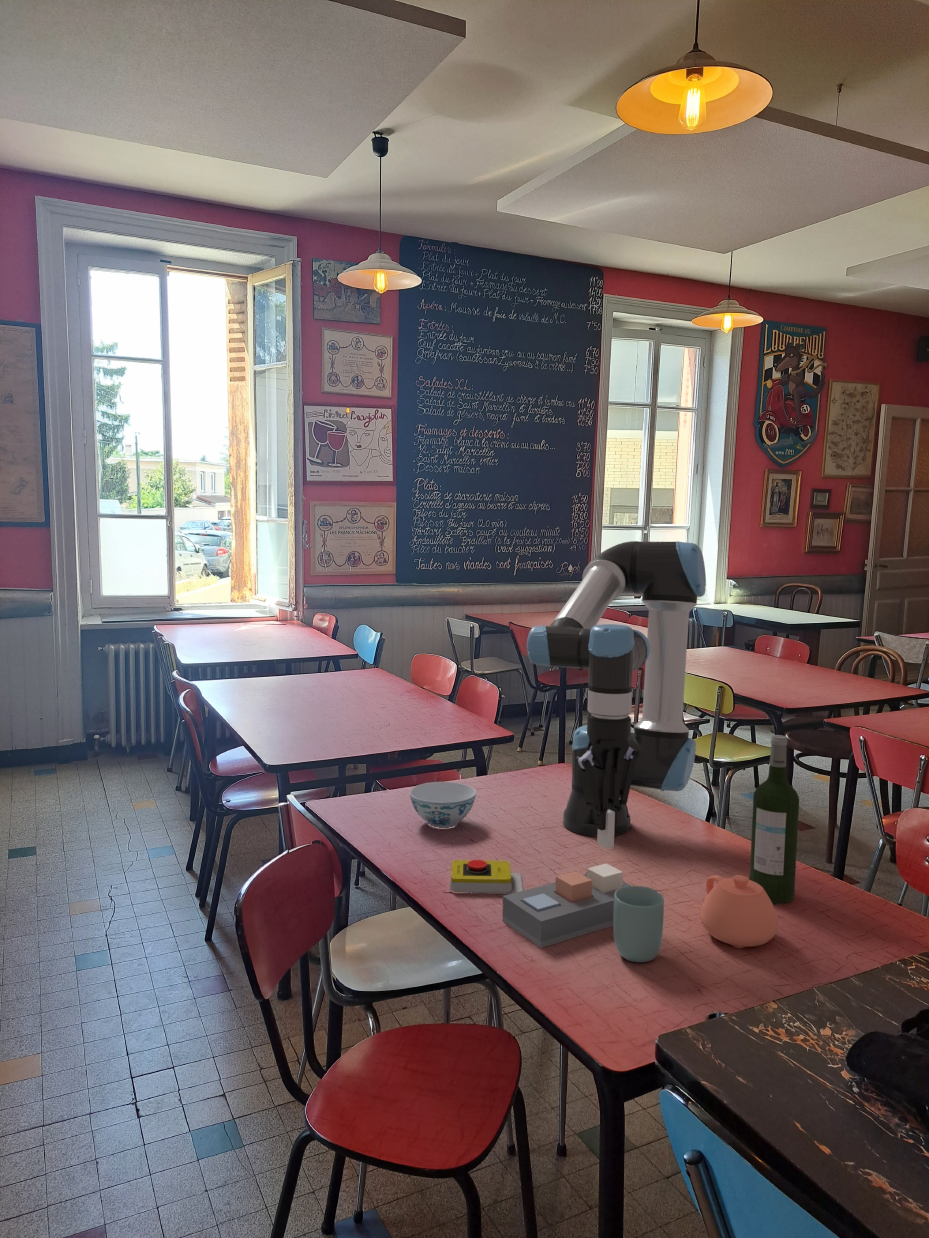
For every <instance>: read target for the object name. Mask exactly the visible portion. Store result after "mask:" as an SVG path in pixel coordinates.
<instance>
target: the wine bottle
mask: <svg viewBox="0 0 929 1238" xmlns="http://www.w3.org/2000/svg"><path fill="white" fill-rule="evenodd" d="M770 745H771V746H770V755H769V767H768V768H769V769H768V777H767V779H766V780H764V781H763V782H762V783H760V784H759V785H758V786H757V787H756V788H755V791H754V793H753V802H752V819H751V820H752V821H751V822H752V823H751V838H750V839H751V840H750V841H751V843H750V860H749V861H750V864H749V880H751V881H754V882H756V883H758V884H759V885H760V886H762V887H763V889H764V890H765V892H766V893H767V895H768V897H769V898H770V900H771V902H772V904H778V905H779V904H786V903H787V904H788V903H790V902H791V901H793V900H794V898H795V889H796V871H797V870H796V869H797V866H796V865H797V853H798V851H797V849H798V835H799V834H798V833H799V832H798V829H799V813H800V797H799V794H798V792H797V790H796V789H795V788H794V787H793V786H792V785H791V784H790V783H789V782H788V779H787V745H788V738H787V736H785V735H781V734H773V735H772V737H771V738H770Z"/></svg>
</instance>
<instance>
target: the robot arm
mask: <svg viewBox="0 0 929 1238" xmlns="http://www.w3.org/2000/svg"><path fill="white" fill-rule="evenodd" d="M704 560H705V559H704V555H703V551H702V550H701V546H699V545H698V544H697V543H695V542H694V543H693V542H687V541H686V542H684V541H678V540H677V541H639V540H637V541H636V540H631V541H625V542H622V543H618V544H615V545H614V546H611V547H609V548H607V549H605V550H603V551H602V552H600V553H598V555H596V556H594V557H593V558H592V559H591V560H590V562H588V563H587V565H586V567H585V568H584V570H583V573H582V577H581V580H582V581H581V582H580V583H579V585H578V586H576V589H575V590H574V591H573V593H572V595H571V596H569V598H568V599H567V602H566V603H565V605H563V607H562V609H560V611H559V613H558V614H557V616H556V617H555V618H554V620H553V621H552V622H551V623H550V625H546V624H543V625H535V626H533V627H532V628H531V629H530V630H529V632H528V635H527V640H526V652H527V657H528V659H529V661H530V663H532V664H533V665H537V666H538V665H539V666H545V667H546V666H547V667H548V668H550V667H556V668H557V667H558V668H569V669H570V668H571V669H582V670H588V685H587V687H588V688H587V712H588V713H589V714H588V715H587V717H586V718H587V719H586V722H587V723H586V724H585V725H581V726H580V727H578V728H577V729H575V730H574V732H573V734H572V735H573V738H572V746H571V750H572V751H571V752H572V753H571V754H572V756H571V757H572V758H571V791H570V794H569V797H568V801H567V804H566V807H565V809H564V811H563V813H562V814H563V815H562V816H563V817H562V824H563V826H564V827H565V828H566V829H567V830H569V831H571V832H573V833H576V834H579V835H584V836H590V837H591V836H593V837H597V839H596V844H597V845H598V846H600V847H602V848H604V849H606V850H611V849H614V847H615V836H618V835H623V834H625V833H627V832H629V831H630V828H631V815H630V813H629V808H628V805H627V803H628V800H629V795H630V790H631V787H639V788H647V789H648V788H649V789H653V790H654V789H655V790H661V792H665V791H666V792H667V791H669V792H681V791H682V790H684V789H685V788H686V786H688V783H689V781H690V777H691V775H692V772H693V767H694V764H695V763H694V762H695V757H696V751H697V749H696V748H697V742H696V740H695V739H693V738H691V737H689V736H690V735H689V734H690V733H689V732H690V728H688V727H687V726H686V724H685V723H684V722H683V715H684V714H683V713H684V700H685V699H684V697H685V696H684V695H685V683H686V682H685V681H686V668H687V667H686V665H687V653H688V652H687V649H688V635H689V633H688V632H689V618H690V617H689V616H690V612H691V611H692V610H693V609H694V608H695V607H697V605H698V598H700V597H703V596H705V594H706V586H707V578H706V577H707V576H706V567H705V566H706V565H705V561H704ZM622 594H638V595H639V594H640V595H642V601H641V602H642V603H643V604H644V606H645V607H646V609H648V621H647V634H646V635H647V636H646V635H645V634H644V633H643V632H641V631H640V630H637V629H633V628H632V627H630V626H628V625H623V624H614V623H613V624H611V623H610V624H607V623H606V624H605V623H604V624H598V623H599V621H600V619H602V616H603V615H604V614H605V611H606V610H607V609H608V607H609V605H610V603H611V602H612V601H613V600H616V599H617V598H618V597H620V596H621V595H622ZM644 665H645V669H644V684H643V700H642V701H643V703H642V714H641V715H642V717H641V719H640V720H639V721H638V722H636V724H635V725H634V732H632V731H631V729H632V718H631V717H630V715H631V713H632V710H633V709H632V704H633V702H632V699H633V673H634V671H637V670H638V669H640V668H642V667H643V666H644Z"/></svg>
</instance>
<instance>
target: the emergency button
mask: <svg viewBox="0 0 929 1238" xmlns="http://www.w3.org/2000/svg"><path fill="white" fill-rule="evenodd" d="M450 868H451V870H450V872H451V882H450V890H452V891H454V892H468V893H467V894H479V893H488V894H489V895H490V894H492V895H493V894H496V895H499V894H501V895H508V894H512V893H516V892H520V891H524V889H523V881H522V874H520V873H519V872H518V873H517V872H511V865H510V861H509V860H483V859H473V860H472V859H471V860H470V859H469V860H468V859H467V860H466V859H464V860H463V859H455V860H452V861H451V867H450ZM471 892H472V893H471ZM488 894H487V895H488Z"/></svg>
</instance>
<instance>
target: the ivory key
mask: <svg viewBox="0 0 929 1238" xmlns="http://www.w3.org/2000/svg"><path fill="white" fill-rule="evenodd" d="M586 872H587V873H586V874H587V878H589V879H591V880H592V888H594V889H596V890H597V891H599V892H601V893H603V894H604V893H607V892H611V891H614V890H617V889H619V888H622V885H623V882H624V880H623V878H624V872H623V871H622V870H619V869H618V868H616V867H614V866H612V865H610V864H609V863H603V864H599V865H595V866H590V867H587V870H586Z"/></svg>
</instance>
